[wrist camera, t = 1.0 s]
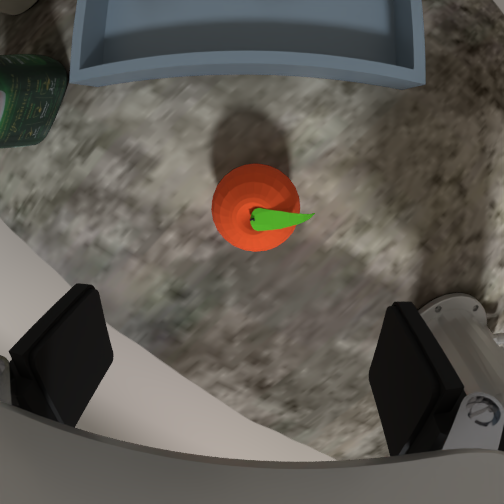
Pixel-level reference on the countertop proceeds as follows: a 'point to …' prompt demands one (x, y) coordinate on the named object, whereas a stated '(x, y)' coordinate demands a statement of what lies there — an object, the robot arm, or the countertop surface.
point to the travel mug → (15, 6)
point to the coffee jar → (29, 97)
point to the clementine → (256, 207)
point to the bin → (249, 40)
